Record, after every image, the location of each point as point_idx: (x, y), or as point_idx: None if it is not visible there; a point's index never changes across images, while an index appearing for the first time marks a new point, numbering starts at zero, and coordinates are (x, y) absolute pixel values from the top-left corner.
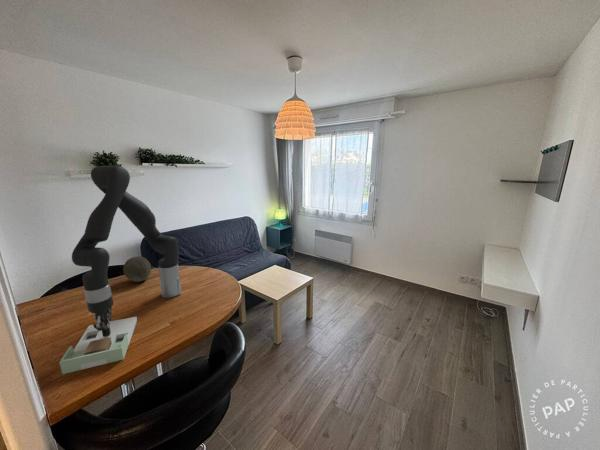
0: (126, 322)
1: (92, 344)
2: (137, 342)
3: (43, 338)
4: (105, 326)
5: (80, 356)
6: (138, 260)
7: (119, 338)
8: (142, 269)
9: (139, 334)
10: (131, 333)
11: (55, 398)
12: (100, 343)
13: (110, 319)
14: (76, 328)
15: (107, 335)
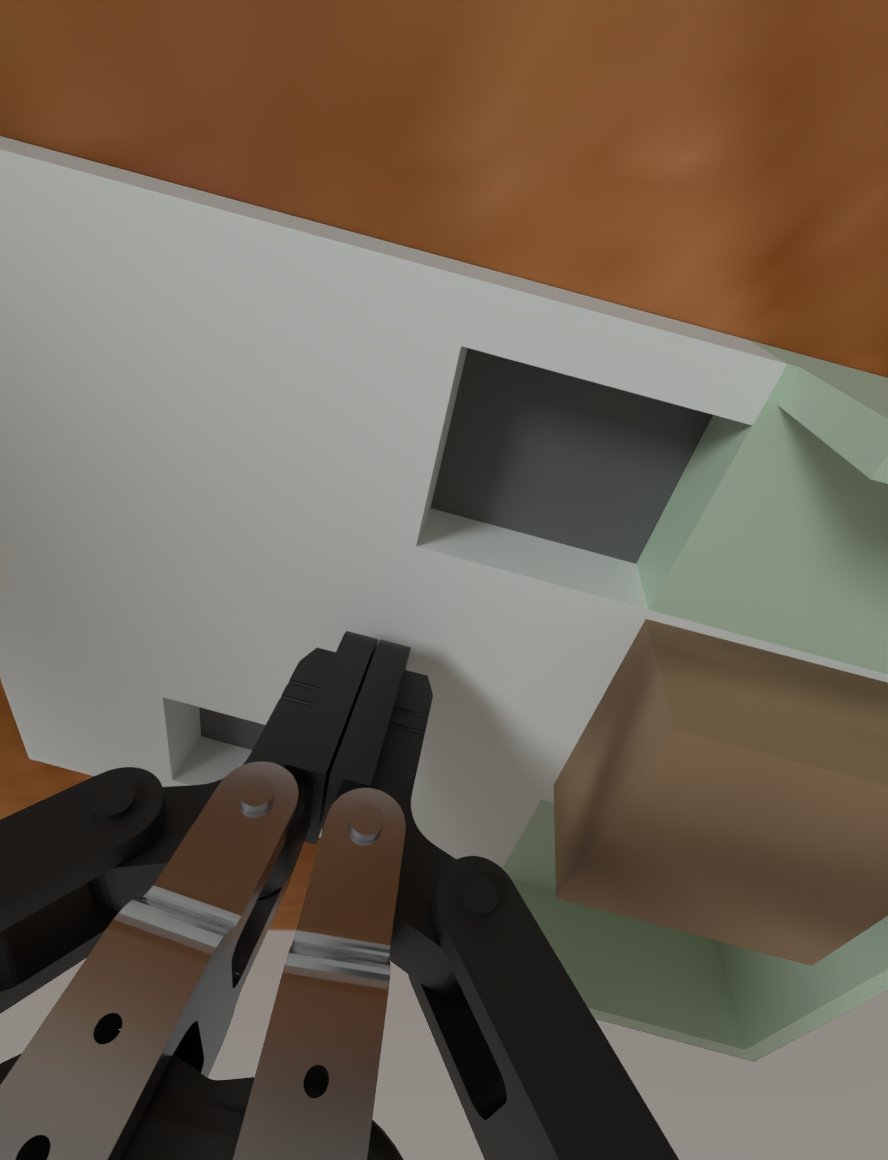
0: (36, 356)
1: (668, 897)
2: (843, 146)
3: None
4: (535, 1014)
5: (858, 991)
6: None
7: (443, 475)
8: None
9: (530, 75)
10: (465, 270)
11: None
12: (749, 844)
13: (119, 820)
14: (29, 778)
15: (424, 682)
